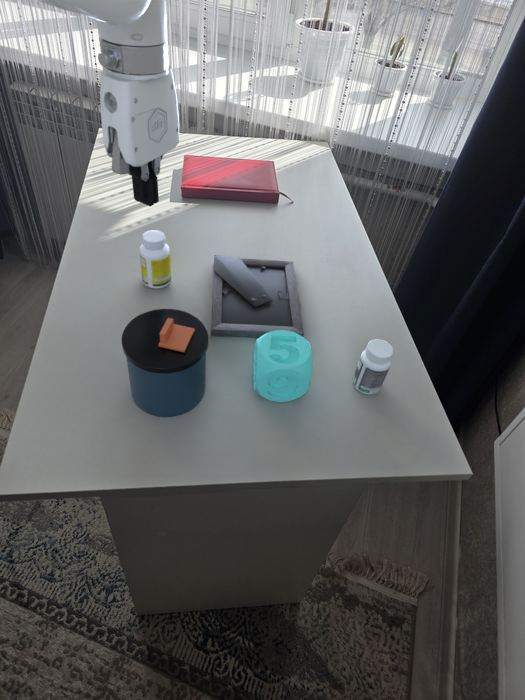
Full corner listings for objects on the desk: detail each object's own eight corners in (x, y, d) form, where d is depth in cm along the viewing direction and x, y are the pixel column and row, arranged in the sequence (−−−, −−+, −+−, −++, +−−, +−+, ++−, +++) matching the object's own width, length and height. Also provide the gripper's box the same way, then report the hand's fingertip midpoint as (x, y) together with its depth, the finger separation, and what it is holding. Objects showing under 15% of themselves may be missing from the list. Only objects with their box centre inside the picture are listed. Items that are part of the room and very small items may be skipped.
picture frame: (213, 263, 95) (210, 335, 80) (214, 254, 93) (211, 327, 79) (291, 268, 96) (302, 340, 82) (293, 260, 95) (304, 331, 80)
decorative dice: (300, 365, 78) (309, 330, 72) (304, 403, 72) (314, 369, 66) (252, 362, 77) (257, 327, 71) (253, 401, 71) (258, 366, 66)
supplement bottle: (176, 276, 90) (174, 232, 83) (163, 292, 87) (160, 248, 80) (150, 269, 91) (147, 224, 84) (136, 284, 87) (131, 239, 80)
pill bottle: (386, 389, 76) (402, 354, 70) (363, 399, 74) (378, 363, 68) (368, 369, 79) (383, 333, 73) (345, 378, 77) (359, 342, 71)
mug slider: (158, 346, 62) (157, 336, 60) (169, 325, 65) (169, 314, 64) (184, 352, 62) (184, 342, 60) (194, 330, 65) (194, 320, 63)
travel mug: (116, 408, 68) (106, 356, 60) (146, 353, 76) (141, 300, 68) (193, 427, 67) (193, 376, 59) (215, 369, 75) (218, 318, 67)
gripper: (115, 78, 48) (132, 233, 61) (198, 51, 58) (198, 190, 71) (61, 60, 50) (88, 213, 63) (150, 37, 60) (158, 174, 73)
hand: (146, 201), depth 67 cm, fingers closed
